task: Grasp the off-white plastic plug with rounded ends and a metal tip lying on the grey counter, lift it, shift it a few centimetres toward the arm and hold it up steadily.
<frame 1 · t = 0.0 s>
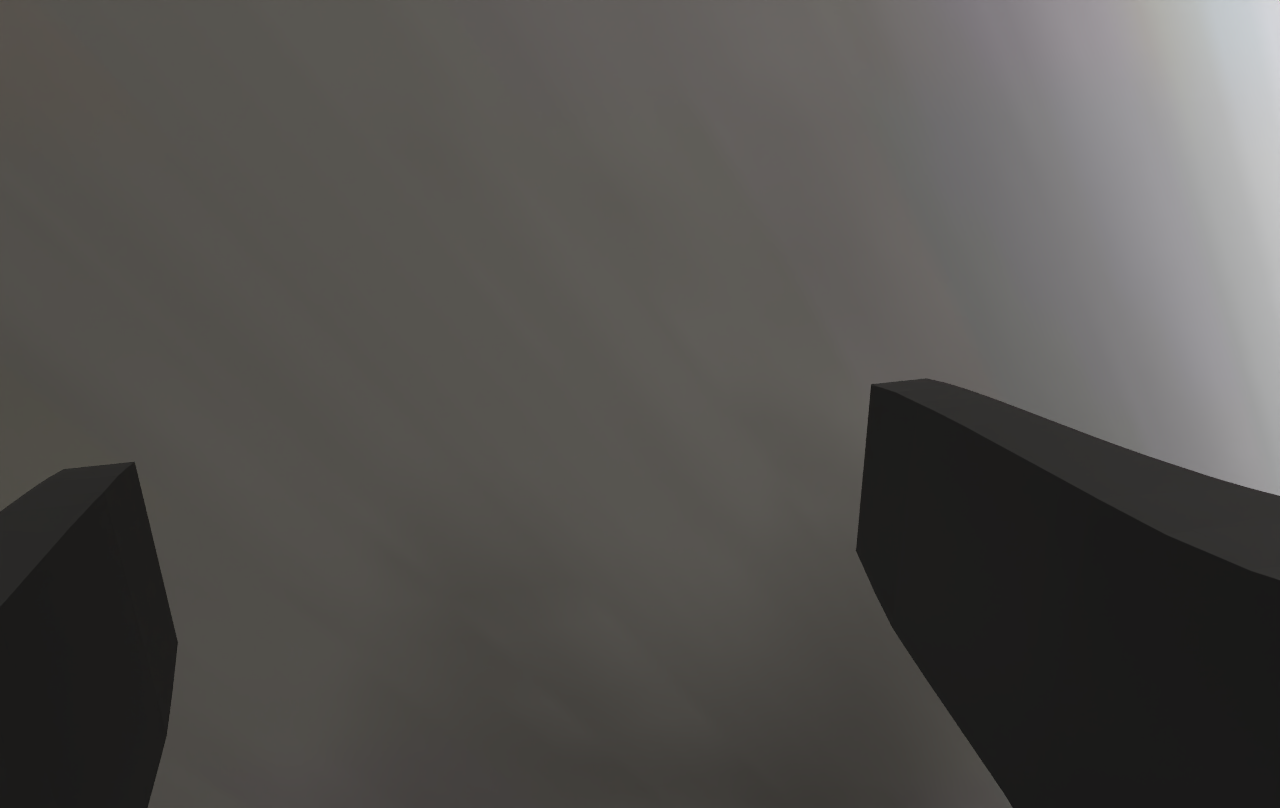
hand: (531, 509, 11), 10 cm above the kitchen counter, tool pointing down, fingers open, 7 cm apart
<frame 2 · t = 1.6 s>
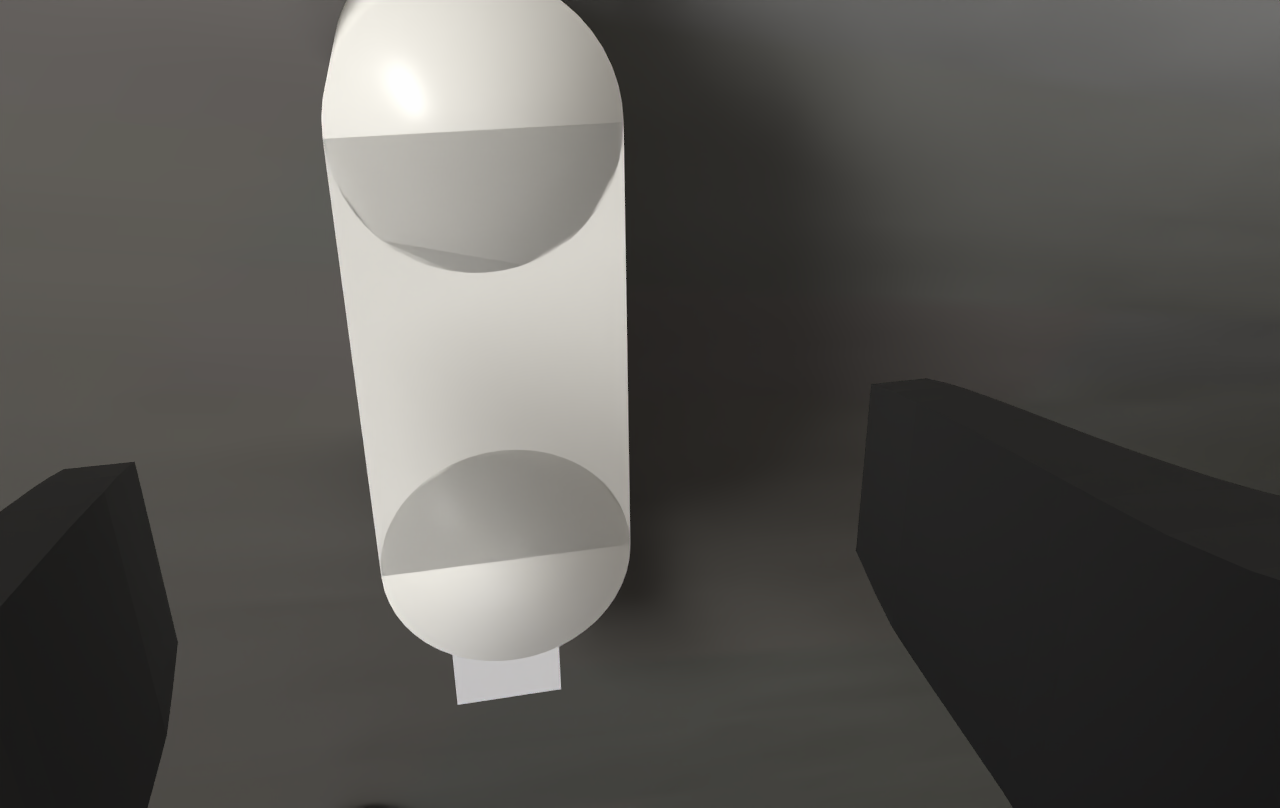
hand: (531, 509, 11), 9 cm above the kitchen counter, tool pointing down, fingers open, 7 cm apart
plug: (464, 247, 19), on the kitchen counter
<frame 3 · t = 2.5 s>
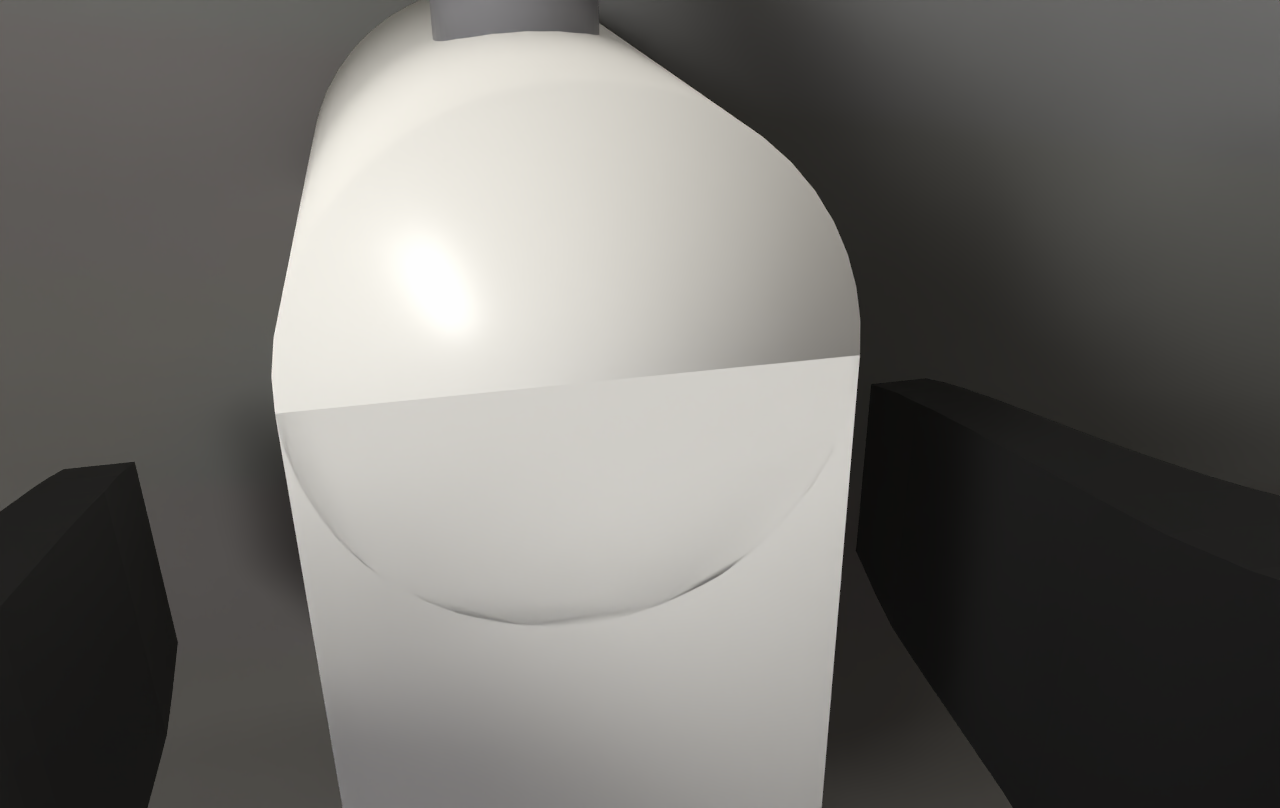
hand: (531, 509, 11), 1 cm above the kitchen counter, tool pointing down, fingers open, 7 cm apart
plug: (514, 443, 12), on the kitchen counter
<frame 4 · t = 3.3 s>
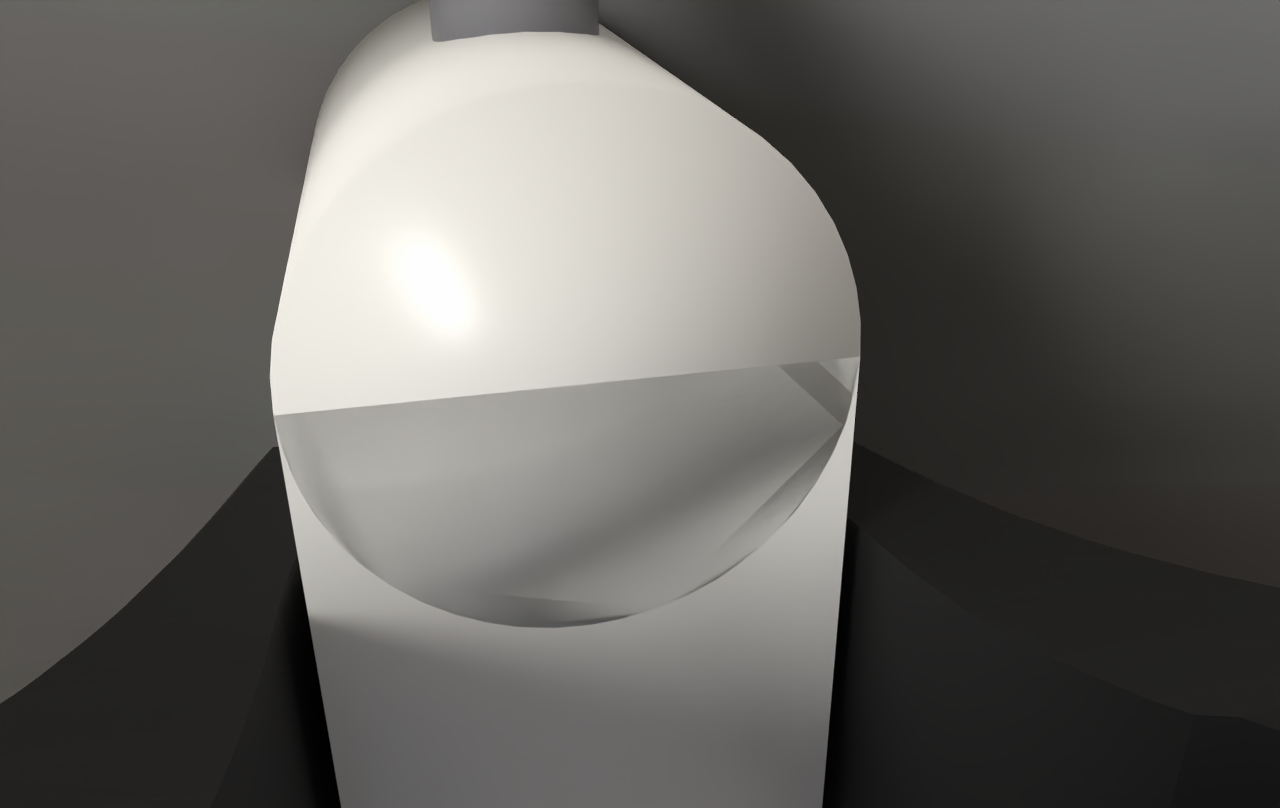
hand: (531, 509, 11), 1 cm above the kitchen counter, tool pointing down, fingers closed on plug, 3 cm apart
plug: (514, 444, 12), on the kitchen counter, touching gripper
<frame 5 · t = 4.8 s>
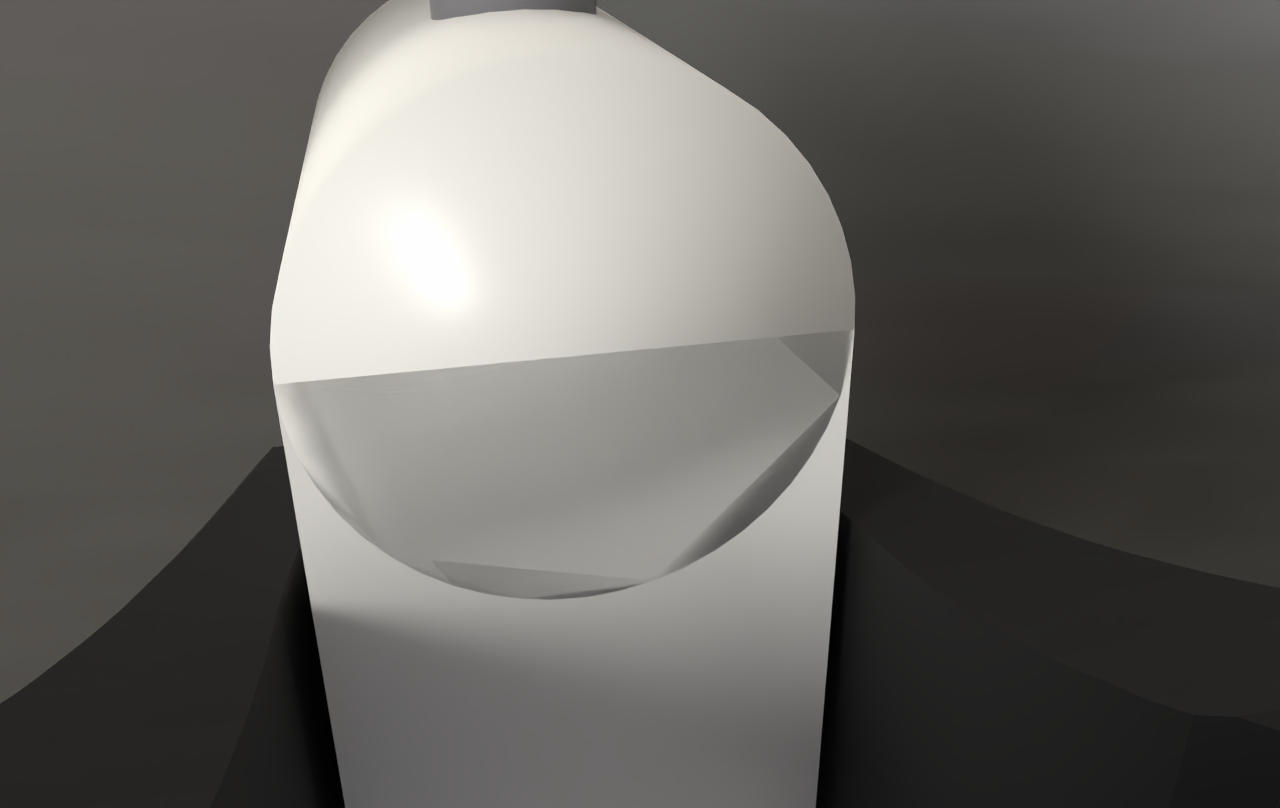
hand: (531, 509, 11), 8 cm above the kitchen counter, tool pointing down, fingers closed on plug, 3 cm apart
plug: (513, 428, 12), point 7 cm above the kitchen counter, touching gripper
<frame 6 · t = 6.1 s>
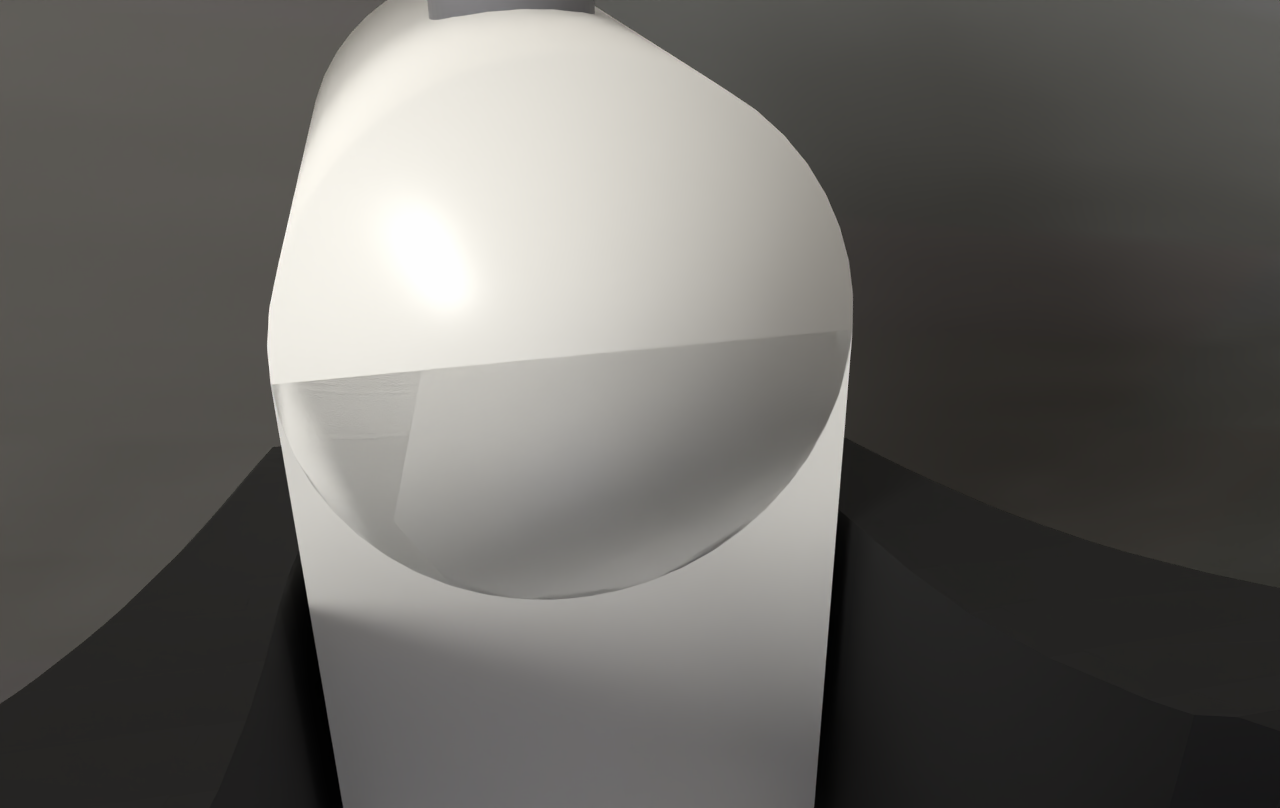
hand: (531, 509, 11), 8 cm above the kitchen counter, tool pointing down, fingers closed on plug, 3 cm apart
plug: (512, 428, 12), point 7 cm above the kitchen counter, touching gripper
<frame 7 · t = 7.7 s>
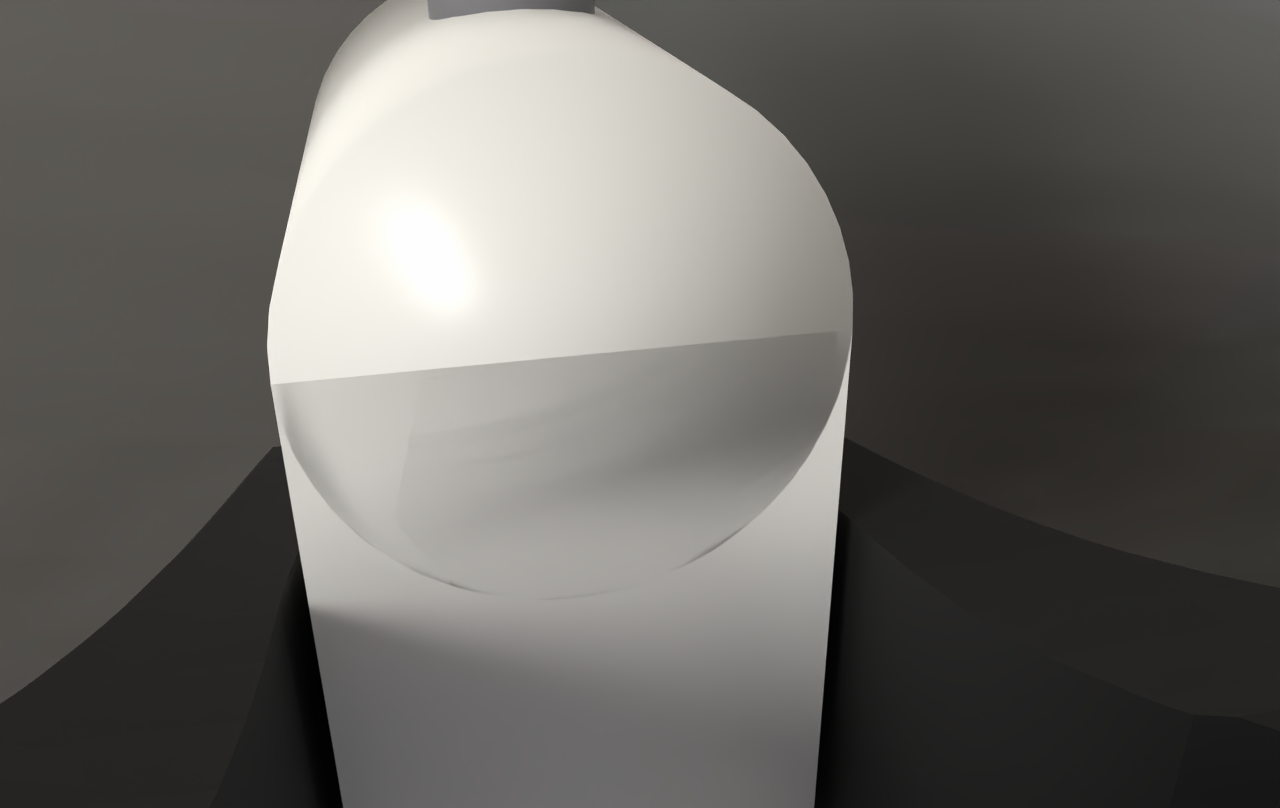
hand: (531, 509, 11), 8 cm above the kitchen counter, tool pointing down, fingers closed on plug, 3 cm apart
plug: (512, 428, 12), point 7 cm above the kitchen counter, touching gripper
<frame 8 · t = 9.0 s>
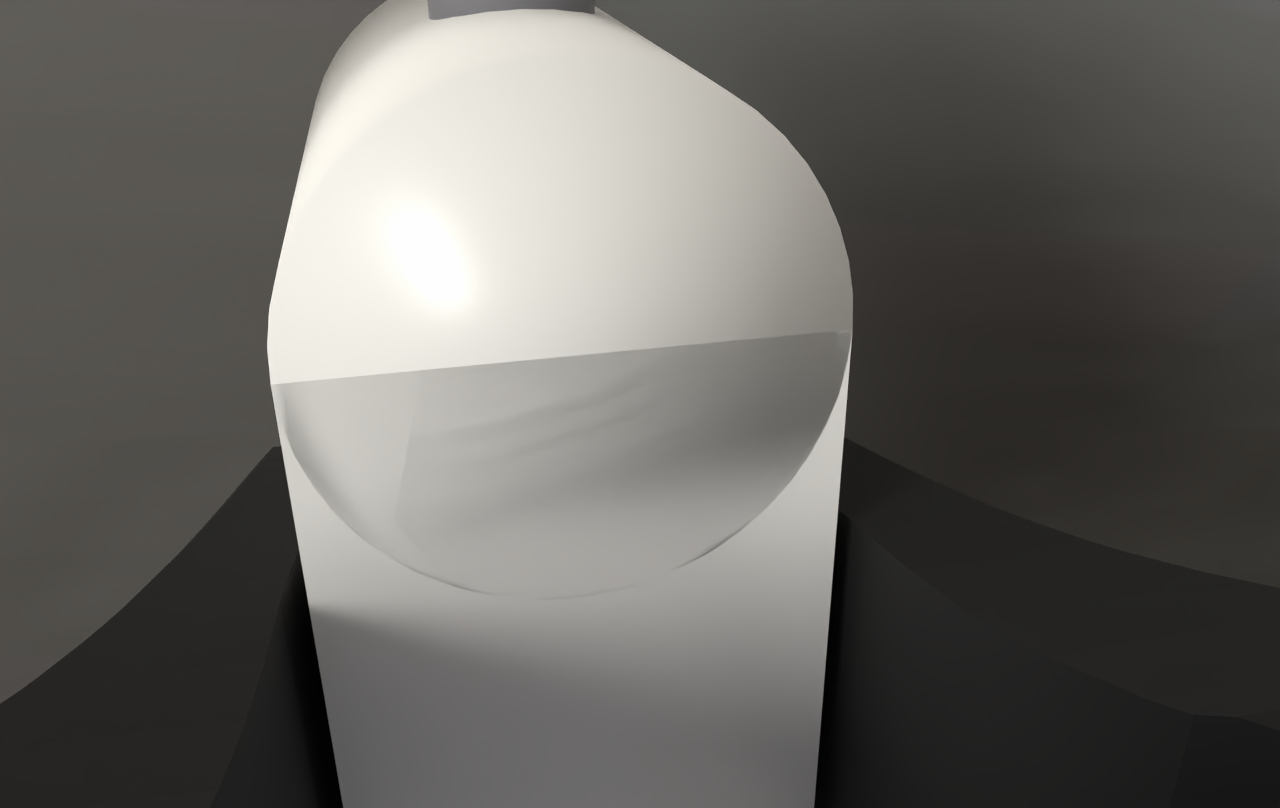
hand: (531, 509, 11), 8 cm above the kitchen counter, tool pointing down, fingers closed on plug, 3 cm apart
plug: (512, 428, 12), point 7 cm above the kitchen counter, touching gripper
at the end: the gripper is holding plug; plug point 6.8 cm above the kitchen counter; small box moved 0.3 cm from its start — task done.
